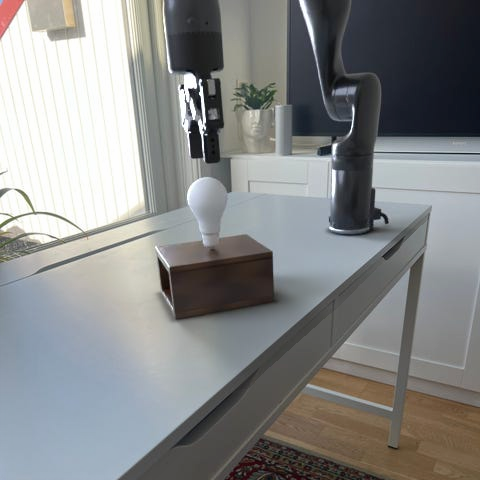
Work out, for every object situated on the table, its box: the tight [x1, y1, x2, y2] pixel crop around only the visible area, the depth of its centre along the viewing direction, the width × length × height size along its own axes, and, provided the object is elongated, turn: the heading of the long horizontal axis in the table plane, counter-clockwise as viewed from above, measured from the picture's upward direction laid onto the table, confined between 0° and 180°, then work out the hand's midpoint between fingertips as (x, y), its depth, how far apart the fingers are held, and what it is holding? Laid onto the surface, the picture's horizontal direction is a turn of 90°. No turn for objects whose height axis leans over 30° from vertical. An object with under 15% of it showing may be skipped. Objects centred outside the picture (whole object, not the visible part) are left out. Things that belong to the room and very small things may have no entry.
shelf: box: [155, 233, 275, 320], centre depth 77 cm, size 16×12×8 cm
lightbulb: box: [186, 176, 229, 249], centre depth 73 cm, size 6×6×11 cm
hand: (204, 160), depth 70 cm, fingers open, 8 cm apart
